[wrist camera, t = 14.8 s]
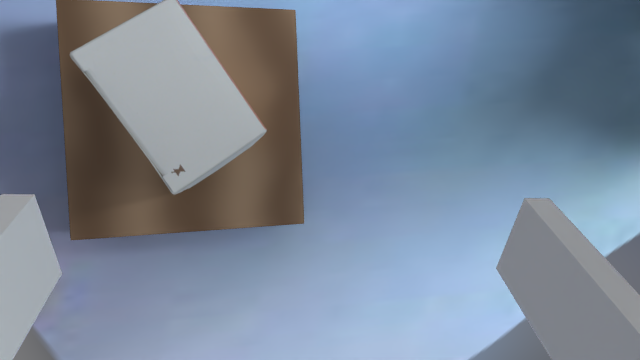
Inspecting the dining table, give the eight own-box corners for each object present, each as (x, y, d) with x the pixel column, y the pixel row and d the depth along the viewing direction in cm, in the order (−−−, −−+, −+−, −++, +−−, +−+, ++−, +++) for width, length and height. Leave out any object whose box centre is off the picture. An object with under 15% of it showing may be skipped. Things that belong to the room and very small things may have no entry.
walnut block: (284, 31, 37) (295, 10, 32) (292, 216, 37) (304, 223, 32) (79, 23, 33) (56, -2, 28) (92, 229, 33) (70, 240, 29)
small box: (253, 146, 31) (272, 133, 21) (187, 190, 30) (174, 199, 20) (187, 51, 30) (174, -11, 20) (117, 93, 29) (64, 51, 19)
